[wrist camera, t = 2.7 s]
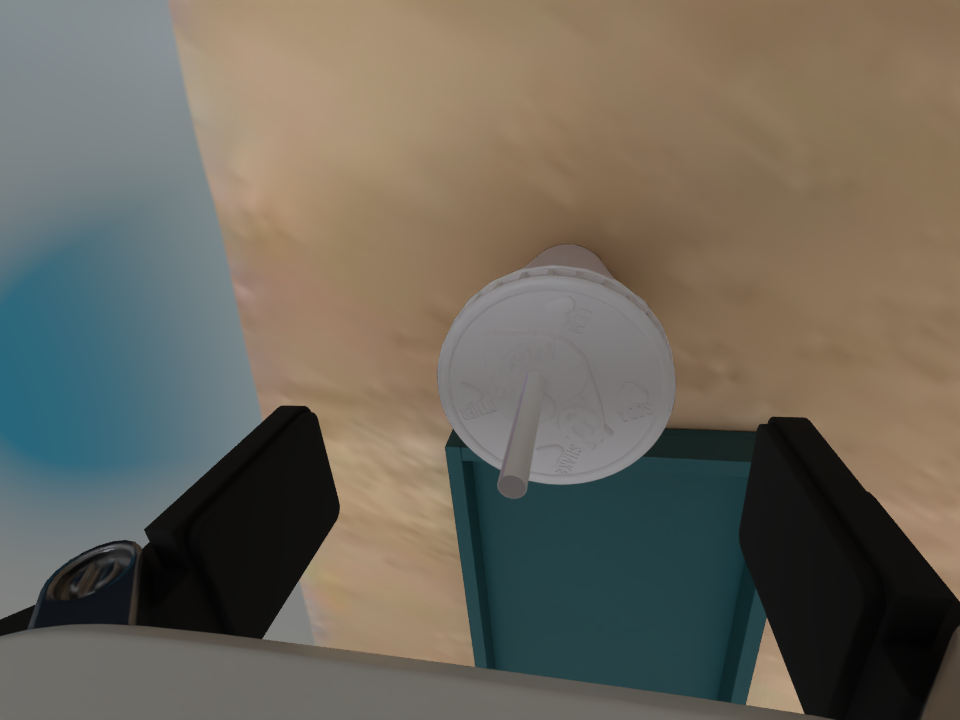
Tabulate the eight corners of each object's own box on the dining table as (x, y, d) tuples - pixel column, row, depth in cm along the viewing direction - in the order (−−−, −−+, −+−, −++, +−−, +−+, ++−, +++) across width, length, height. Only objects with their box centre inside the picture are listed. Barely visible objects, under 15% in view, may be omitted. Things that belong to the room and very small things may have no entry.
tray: (783, 432, 22) (804, 465, 20) (716, 748, 33) (725, 790, 31) (456, 420, 26) (444, 446, 23) (492, 710, 36) (486, 746, 34)
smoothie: (567, 177, 19) (529, 264, 7) (674, 286, 20) (806, 530, 8) (466, 286, 22) (312, 485, 10) (564, 377, 23) (536, 661, 11)
